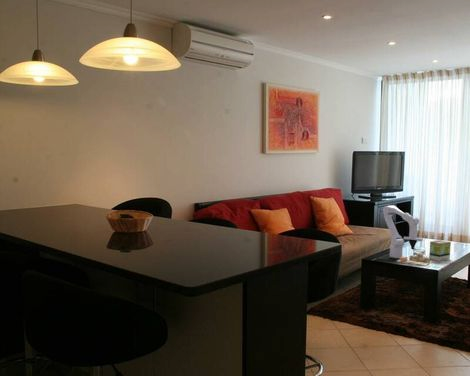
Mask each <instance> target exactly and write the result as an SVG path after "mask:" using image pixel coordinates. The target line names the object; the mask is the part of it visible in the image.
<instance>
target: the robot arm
mask: <svg viewBox="0 0 470 376" xmlns="http://www.w3.org/2000/svg"><path fill="white" fill-rule="evenodd" d="M382 212H383V218H384V220H385V223H386V225H387V228H388V229H389V232H390V234H391V238H390V242H391V246H390V248H389V258H394V259H400V257H402V256H403V247H404V245H405V240H407V241H408V242H409V244H410V249H411V250H414V249H415V247H416V245H417V243H418V242H423V238H419V237H418V225H419V222H420V220H419V218H418V217H416V216H415V217H414V216H413V215H411V214H410V213H409V212H403V211H402V210H400V209H399V208H398V207H397V206H395V205H394V204H393V205H385V206H383V209H382ZM394 214H396V215H397V216H398V215H399V216H400V217H401V218H402V220H404V221H405V222H407V223H408V226H409V233H408V236H401V235H400V234H399V232H398V229H397V227H396V225H395V222H394V221H393V218H392V217H393V215H394ZM402 237H403V238H402Z"/></svg>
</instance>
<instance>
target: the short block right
mask: <svg viewBox="0 0 470 376" xmlns="http://www.w3.org/2000/svg"><path fill="white" fill-rule="evenodd" d="M423 263H429V264H430V263H431V259H430V258H429V257H427V256H423Z"/></svg>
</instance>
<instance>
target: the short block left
mask: <svg viewBox="0 0 470 376" xmlns="http://www.w3.org/2000/svg"><path fill="white" fill-rule="evenodd" d="M409 260H410V261H416V254H415V255H414V254H411V255H409Z"/></svg>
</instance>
